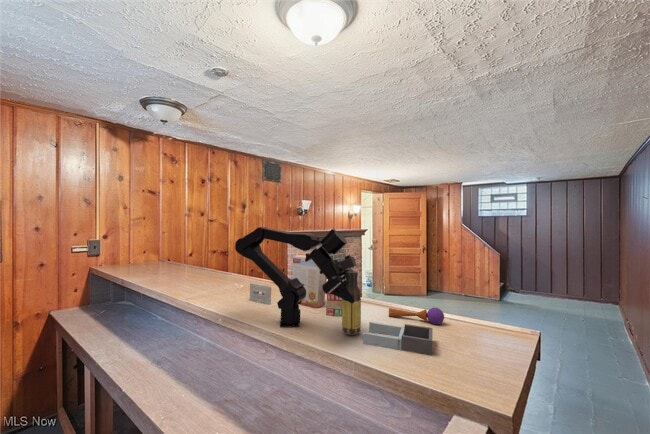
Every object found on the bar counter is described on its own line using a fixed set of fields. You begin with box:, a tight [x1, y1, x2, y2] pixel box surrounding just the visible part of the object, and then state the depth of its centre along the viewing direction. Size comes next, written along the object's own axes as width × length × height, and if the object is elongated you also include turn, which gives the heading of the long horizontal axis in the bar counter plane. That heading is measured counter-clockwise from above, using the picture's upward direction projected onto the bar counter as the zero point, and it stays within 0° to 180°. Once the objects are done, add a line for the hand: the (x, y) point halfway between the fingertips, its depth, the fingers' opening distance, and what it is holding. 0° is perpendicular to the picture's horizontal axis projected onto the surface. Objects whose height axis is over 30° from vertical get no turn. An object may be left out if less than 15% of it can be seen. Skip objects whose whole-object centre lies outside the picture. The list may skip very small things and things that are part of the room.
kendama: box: [388, 306, 445, 325], centre depth 113 cm, size 6×6×20 cm
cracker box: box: [292, 254, 326, 309], centre depth 130 cm, size 14×6×21 cm, turn 58°
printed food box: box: [325, 289, 342, 318], centre depth 125 cm, size 21×6×12 cm, turn 170°
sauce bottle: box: [341, 269, 362, 336], centre depth 98 cm, size 6×6×20 cm
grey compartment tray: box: [362, 321, 434, 356], centre depth 92 cm, size 20×11×4 cm, turn 70°
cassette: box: [249, 282, 272, 306], centre depth 130 cm, size 12×2×8 cm, turn 58°
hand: (356, 300), depth 97 cm, fingers closed on sauce bottle, 6 cm apart
